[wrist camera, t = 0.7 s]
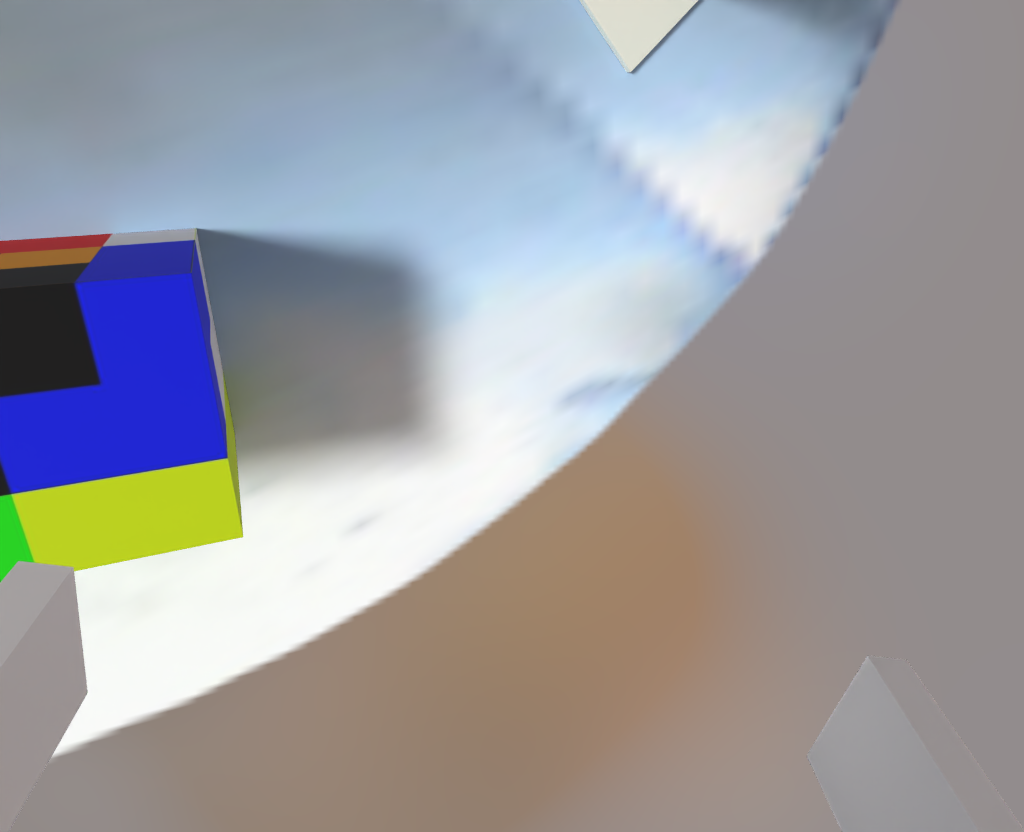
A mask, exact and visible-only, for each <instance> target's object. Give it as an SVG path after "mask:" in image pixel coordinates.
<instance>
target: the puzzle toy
mask: <svg viewBox="0 0 1024 832" xmlns="http://www.w3.org/2000/svg"><path fill="white" fill-rule="evenodd" d="M241 537H243V530H242V517H241V505H240V492H239V480H238V467H237V455H236V443H235V433H234V427H233V422H232V416H231V411H230V406H229V400H228V395H227V390H226V384H225V379H224V374H223V368H222V363H221V358H220V352H219V347H218V342H217V336H216V331H215V326H214V320H213V315H212V310H211V304H210V299H209V294H208V288H207V283H206V277H205V272H204V267H203V261H202V256H201V251H200V245H199V240H198V235H197V229H196V228H193V229H177V230H162V231H147V232H132V233H116V234H101V235H86V236H71V237H55V238H40V239H25V240H10V241H0V582H1V581H2V580H3V579H4V578H5V576H6V575H7V574H8V573H9V572H10V570H11V569H12V568H13V567H14V566H15V564H16V563H17V562H18V561H23V562H32V563H41V564H50V565H59V566H68V567H73V568H74V571H78V570H83V569H88V568H93V567H98V566H102V565H107V564H112V563H117V562H122V561H127V560H132V559H137V558H142V557H147V556H152V555H157V554H162V553H167V552H172V551H177V550H182V549H187V548H191V547H196V546H201V545H206V544H211V543H216V542H221V541H226V540H231V539H236V538H241Z"/></svg>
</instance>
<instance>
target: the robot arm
mask: <svg viewBox="0 0 1024 832" xmlns="http://www.w3.org/2000/svg"><path fill="white" fill-rule="evenodd" d="M86 695H87V684H86V675H85V666H84V657H83V648H82V639H81V630H80V621H79V612H78V603H77V594H76V586H75V577H74V568H73V567H68V566H59V565H50V564H41V563H32V562H23V561H18V562H17V563H16V564H15V566H14V567H13V568H12V569H11V570H10V572H9V573H8V574H7V575H6V576H5V578H4V579H3V580H2V581H1V582H0V832H9V831H10V829H11V827H12V825H13V823H14V822H15V820H16V818H17V816H18V815H19V813H20V811H21V809H22V808H23V806H24V804H25V802H26V801H27V799H28V797H29V795H30V793H31V792H32V790H33V788H34V786H35V785H36V783H37V781H38V779H39V777H40V776H41V774H42V772H43V770H44V769H45V767H46V765H47V763H48V762H49V760H50V758H51V756H52V755H53V753H54V751H55V749H56V748H57V746H58V744H59V742H60V741H61V739H62V737H63V735H64V733H65V732H66V730H67V728H68V726H69V725H70V723H71V721H72V719H73V718H74V716H75V714H76V712H77V711H78V709H79V707H80V705H81V703H82V702H83V700H84V698H85V696H86ZM807 758H808V760H809V762H810V765H811V767H812V769H813V771H814V773H815V775H816V778H817V780H818V782H819V784H820V786H821V788H822V790H823V793H824V795H825V797H826V799H827V801H828V803H829V806H830V808H831V810H832V812H833V814H834V816H835V819H836V821H837V823H838V825H839V827H840V829H841V832H1024V829H1023V827H1022V826H1021V825H1020V823H1019V822H1018V820H1017V819H1016V817H1015V816H1014V814H1013V813H1012V812H1011V810H1010V809H1009V807H1008V806H1007V804H1006V803H1005V801H1004V800H1003V799H1002V797H1001V796H1000V794H999V793H998V791H997V790H996V788H995V787H994V785H993V784H992V783H991V781H990V780H989V778H988V777H987V775H986V774H985V772H984V771H983V770H982V768H981V767H980V765H979V764H978V762H977V761H976V759H975V758H974V757H973V755H972V754H971V752H970V751H969V749H968V748H967V747H966V745H965V743H964V742H963V741H962V739H961V738H960V737H959V735H958V733H957V732H956V730H955V729H954V728H953V726H952V725H951V723H950V722H949V720H948V719H947V717H946V716H945V715H944V713H943V712H942V710H941V709H940V707H939V706H938V704H937V703H936V702H935V700H934V699H933V697H932V696H931V694H930V693H929V691H928V690H927V689H926V687H925V686H924V684H923V683H922V681H921V680H920V678H919V677H918V675H917V674H916V673H915V671H914V670H913V668H912V667H911V665H910V664H909V662H908V661H907V660H905V659H896V658H887V657H877V656H869V655H868V656H867V657H866V659H865V660H864V662H863V664H862V665H861V667H860V669H859V670H858V672H857V674H856V675H855V677H854V679H853V680H852V682H851V683H850V685H849V687H848V688H847V690H846V692H845V693H844V695H843V697H842V698H841V700H840V702H839V703H838V705H837V706H836V708H835V710H834V711H833V713H832V715H831V716H830V718H829V719H828V721H827V723H826V725H825V726H824V728H823V730H822V731H821V733H820V734H819V736H818V738H817V739H816V741H815V742H814V744H813V746H812V747H811V749H810V751H809V752H808V754H807Z"/></svg>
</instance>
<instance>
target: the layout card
mask: <svg viewBox="0 0 1024 832" xmlns="http://www.w3.org/2000/svg"><path fill="white" fill-rule="evenodd" d="M579 1H580V2H581V4H582V5H583V7H584V8H585V10H586V11H587V13H588V14H589V16H590V17H591V19H592V20H593V22H594V23H595V25H596V26H597V28H598V29H599V31H600V33H601V34H602V36H603V37H604V39H605V40H606V42H607V43H608V45H609V46H610V48H611V49H612V51H613V52H614V54H615V55H616V57H617V58H618V60H619V61H620V63H621V64H622V66H623V68H624V69H625V71H626V72H631V71H632V70H633V69H634V68H635V67H636V66H637V65H638V64H639V63H640V62H641V61H642V60H643V59H644V58H645V56H646V55H647V54H648V53H649V52H650V51H651V50H652V49H653V48H654V47H655V46H656V45H657V44H658V43H659V42H660V41H661V39H662V38H663V37H664V36H665V35H666V34H667V33H668V32H669V31H670V30H671V29H672V28H673V27H674V26H675V25H676V23H677V22H678V21H679V20H680V19H681V18H682V17H683V16H684V15H685V14H686V13H687V12H688V11H689V10H690V9H691V7H692V6H693V5H694V4H695V3H696V2H697V1H698V0H579Z"/></svg>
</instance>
